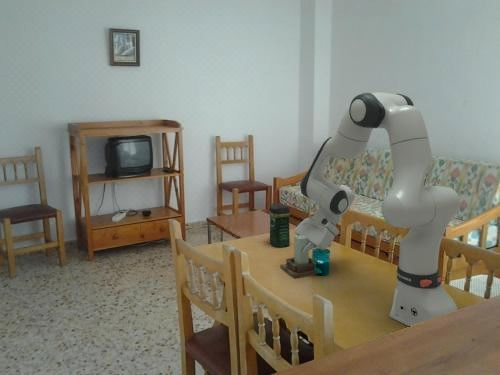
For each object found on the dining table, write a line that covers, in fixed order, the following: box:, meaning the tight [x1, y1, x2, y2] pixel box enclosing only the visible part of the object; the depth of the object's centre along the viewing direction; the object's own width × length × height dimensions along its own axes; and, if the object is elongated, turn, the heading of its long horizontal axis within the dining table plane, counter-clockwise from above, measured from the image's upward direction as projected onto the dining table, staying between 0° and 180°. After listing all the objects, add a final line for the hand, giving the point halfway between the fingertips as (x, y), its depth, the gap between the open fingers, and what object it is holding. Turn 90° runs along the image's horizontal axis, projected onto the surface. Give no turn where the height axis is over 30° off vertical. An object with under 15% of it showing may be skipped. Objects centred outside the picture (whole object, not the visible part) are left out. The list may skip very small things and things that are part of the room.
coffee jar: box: [269, 202, 291, 248], centre depth 212 cm, size 10×8×19 cm
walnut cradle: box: [279, 257, 318, 280], centre depth 182 cm, size 12×12×4 cm
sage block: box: [293, 235, 310, 265], centre depth 181 cm, size 4×4×11 cm
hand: (299, 250), depth 181 cm, fingers closed on sage block, 4 cm apart
